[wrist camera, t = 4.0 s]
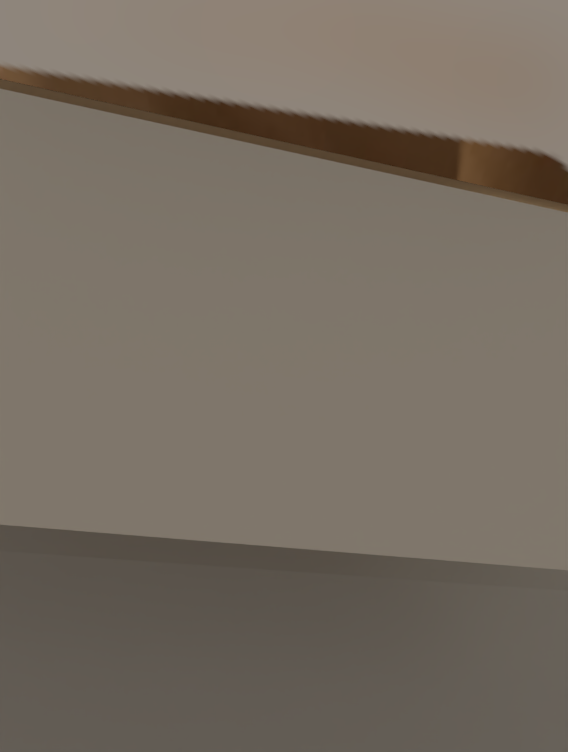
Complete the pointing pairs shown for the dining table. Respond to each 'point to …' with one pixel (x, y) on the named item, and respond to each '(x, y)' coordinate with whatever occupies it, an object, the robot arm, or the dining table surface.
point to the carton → (274, 144)
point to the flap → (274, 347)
